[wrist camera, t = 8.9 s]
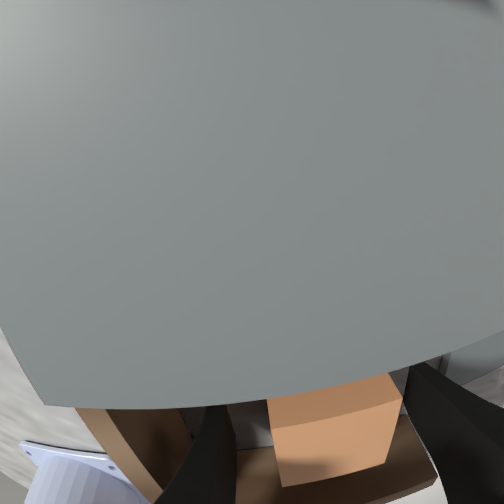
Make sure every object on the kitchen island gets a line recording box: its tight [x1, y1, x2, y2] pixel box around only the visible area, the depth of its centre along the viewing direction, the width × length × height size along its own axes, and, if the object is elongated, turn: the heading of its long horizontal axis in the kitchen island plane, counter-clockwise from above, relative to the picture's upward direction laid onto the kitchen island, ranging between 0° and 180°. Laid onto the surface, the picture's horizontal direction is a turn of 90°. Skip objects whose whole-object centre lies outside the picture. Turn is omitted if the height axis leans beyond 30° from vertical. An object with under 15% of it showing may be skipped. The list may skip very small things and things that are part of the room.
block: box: [267, 373, 403, 487], centre depth 10 cm, size 4×4×4 cm
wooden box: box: [74, 407, 438, 504], centre depth 8 cm, size 22×12×4 cm, turn 8°
